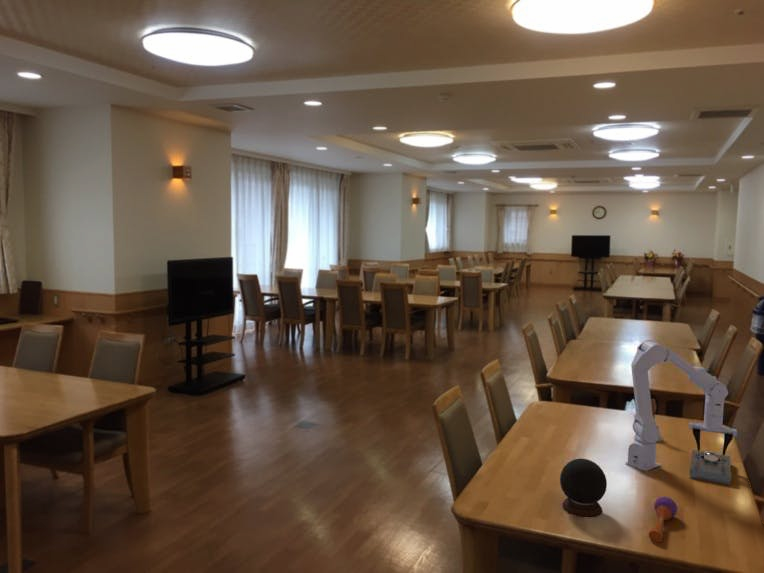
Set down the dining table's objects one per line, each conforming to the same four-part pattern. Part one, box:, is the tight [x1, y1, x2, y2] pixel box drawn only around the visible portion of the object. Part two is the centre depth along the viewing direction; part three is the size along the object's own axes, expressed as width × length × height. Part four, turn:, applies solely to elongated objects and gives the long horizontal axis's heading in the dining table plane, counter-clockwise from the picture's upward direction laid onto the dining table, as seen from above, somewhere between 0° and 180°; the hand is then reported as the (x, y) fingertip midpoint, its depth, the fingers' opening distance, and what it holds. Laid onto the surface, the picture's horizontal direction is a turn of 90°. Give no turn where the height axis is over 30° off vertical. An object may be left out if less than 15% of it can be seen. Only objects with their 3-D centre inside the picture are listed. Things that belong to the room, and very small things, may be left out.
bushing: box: [703, 450, 720, 462], centre depth 210 cm, size 4×4×5 cm
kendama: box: [648, 496, 678, 543], centre depth 167 cm, size 6×6×20 cm
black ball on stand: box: [559, 458, 608, 519], centre depth 177 cm, size 13×13×15 cm
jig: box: [689, 449, 732, 486], centre depth 206 cm, size 20×12×3 cm, turn 151°
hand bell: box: [651, 398, 664, 443], centre depth 238 cm, size 8×8×16 cm
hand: (711, 452), depth 209 cm, fingers open, 7 cm apart
